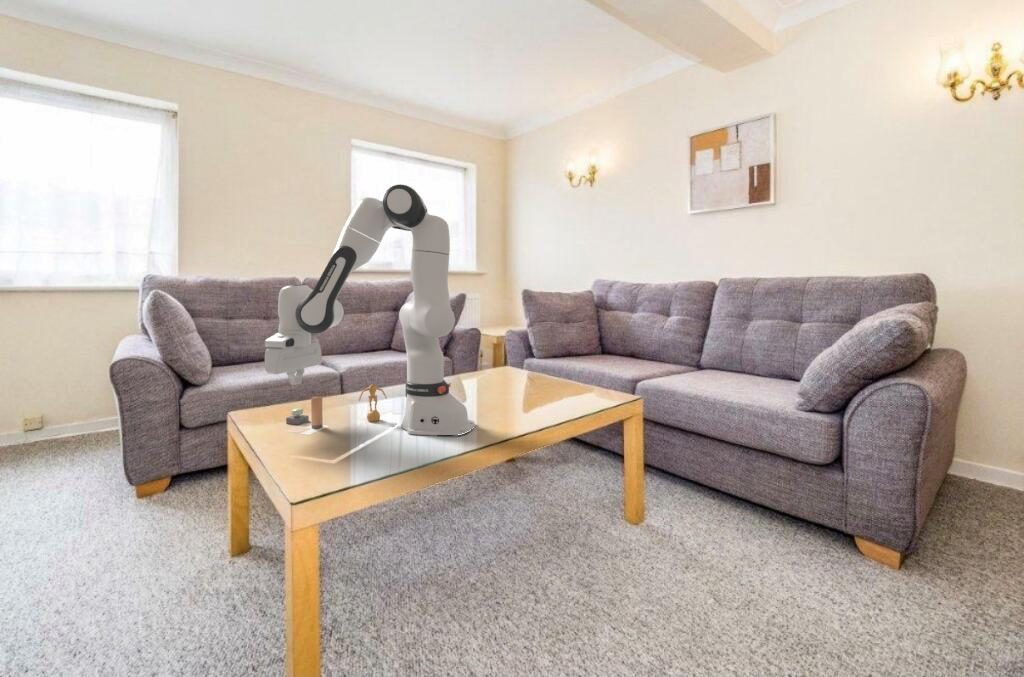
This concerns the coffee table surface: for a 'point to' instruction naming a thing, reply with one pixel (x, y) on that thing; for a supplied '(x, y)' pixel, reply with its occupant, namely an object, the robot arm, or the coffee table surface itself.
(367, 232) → the robot arm
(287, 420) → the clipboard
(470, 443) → the coffee table surface
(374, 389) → the figurine
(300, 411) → the button
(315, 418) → the cylinder
